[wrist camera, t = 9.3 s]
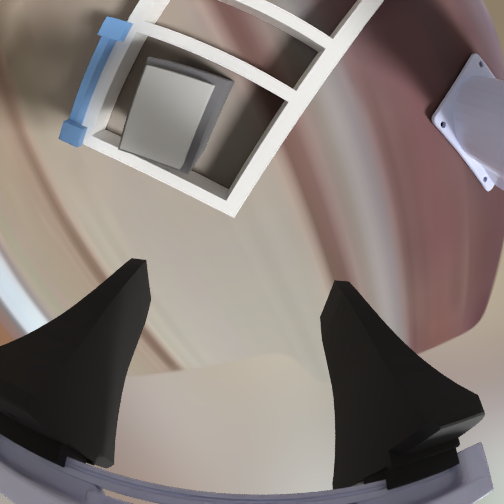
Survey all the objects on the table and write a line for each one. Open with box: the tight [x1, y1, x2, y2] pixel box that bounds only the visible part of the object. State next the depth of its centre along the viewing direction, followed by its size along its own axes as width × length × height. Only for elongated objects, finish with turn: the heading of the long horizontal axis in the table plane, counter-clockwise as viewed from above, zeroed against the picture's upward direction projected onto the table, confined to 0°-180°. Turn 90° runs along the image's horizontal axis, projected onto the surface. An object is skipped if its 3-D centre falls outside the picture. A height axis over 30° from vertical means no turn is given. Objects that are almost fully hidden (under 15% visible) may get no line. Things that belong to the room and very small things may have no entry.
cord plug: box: [118, 56, 235, 174], centre depth 14 cm, size 4×5×6 cm
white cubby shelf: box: [59, 0, 384, 218], centre depth 12 cm, size 13×21×4 cm, turn 150°
